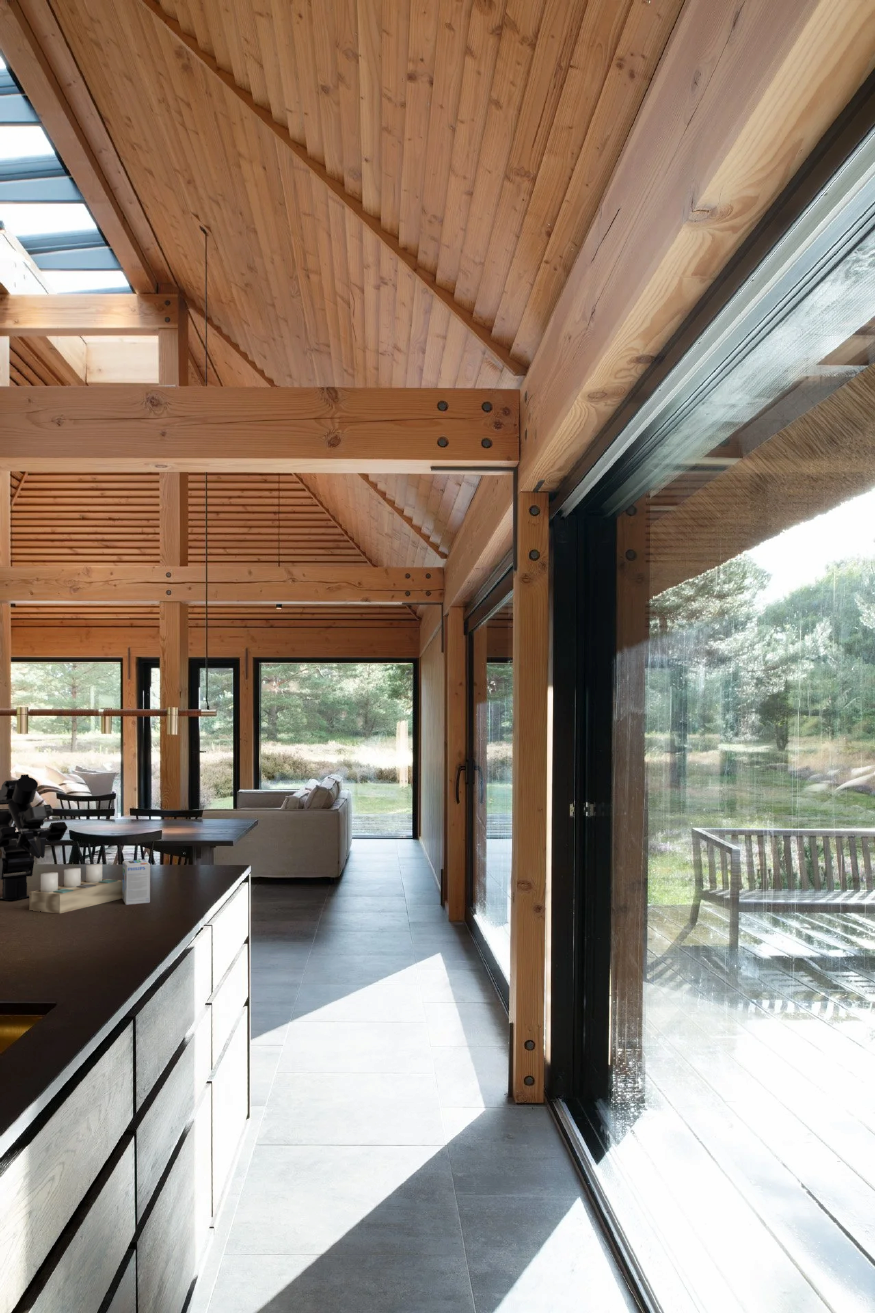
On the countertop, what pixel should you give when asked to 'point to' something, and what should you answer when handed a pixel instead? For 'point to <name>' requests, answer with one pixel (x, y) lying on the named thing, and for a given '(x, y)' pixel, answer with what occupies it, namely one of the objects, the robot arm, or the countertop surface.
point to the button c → (93, 873)
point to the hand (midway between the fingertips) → (41, 857)
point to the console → (75, 896)
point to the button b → (72, 877)
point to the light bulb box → (136, 882)
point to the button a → (49, 882)
